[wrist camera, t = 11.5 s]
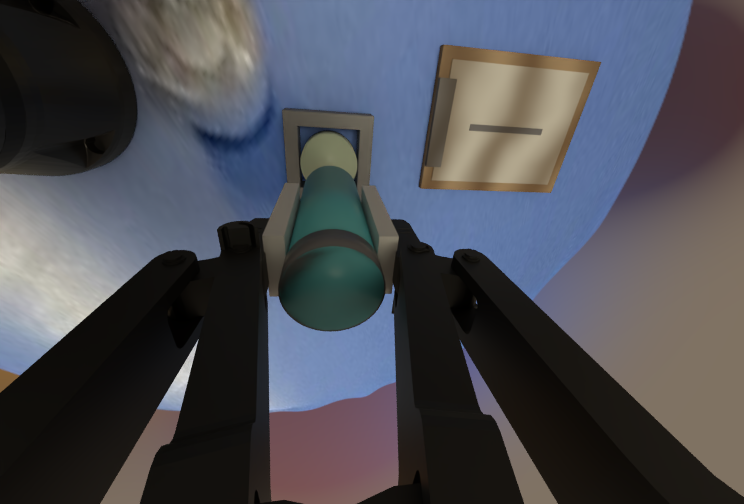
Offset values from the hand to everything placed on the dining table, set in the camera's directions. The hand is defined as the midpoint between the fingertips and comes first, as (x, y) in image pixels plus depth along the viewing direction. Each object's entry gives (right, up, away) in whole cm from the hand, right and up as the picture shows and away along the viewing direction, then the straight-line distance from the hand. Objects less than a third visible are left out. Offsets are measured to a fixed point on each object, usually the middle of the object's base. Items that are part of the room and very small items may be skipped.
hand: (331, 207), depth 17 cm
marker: (-1, +2, +4) cm, 5 cm away
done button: (-2, +7, +11) cm, 13 cm away
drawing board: (+16, +10, +14) cm, 24 cm away
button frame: (-2, +7, +13) cm, 15 cm away
